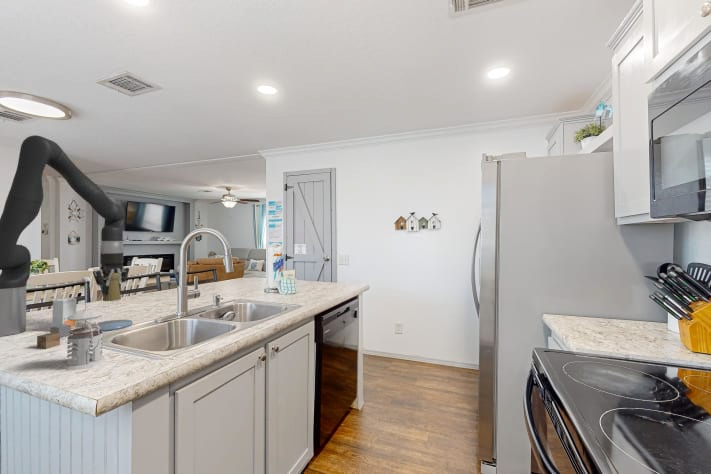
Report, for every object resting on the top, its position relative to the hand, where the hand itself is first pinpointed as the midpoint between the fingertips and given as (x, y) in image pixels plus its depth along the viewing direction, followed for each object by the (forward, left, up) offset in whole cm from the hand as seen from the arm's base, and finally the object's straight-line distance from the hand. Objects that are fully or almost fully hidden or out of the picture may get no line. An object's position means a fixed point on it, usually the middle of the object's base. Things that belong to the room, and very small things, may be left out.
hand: (111, 294), depth 131 cm
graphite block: (-5, -15, -13) cm, 21 cm away
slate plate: (0, 0, -13) cm, 13 cm away
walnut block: (+3, -24, -13) cm, 28 cm away
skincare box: (-13, -8, -13) cm, 21 cm away
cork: (0, 0, -2) cm, 2 cm away
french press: (+30, -32, -13) cm, 46 cm away
